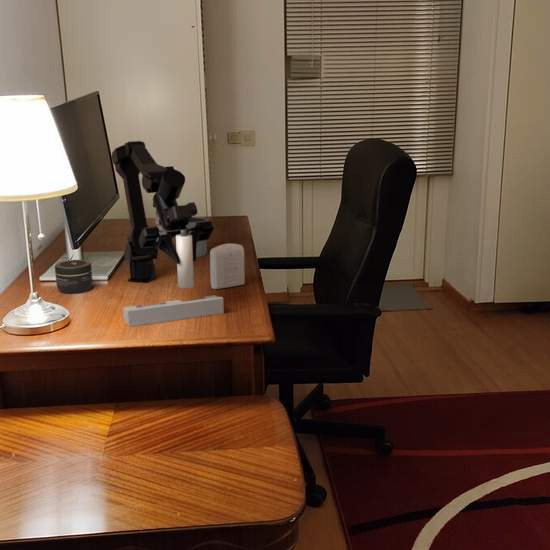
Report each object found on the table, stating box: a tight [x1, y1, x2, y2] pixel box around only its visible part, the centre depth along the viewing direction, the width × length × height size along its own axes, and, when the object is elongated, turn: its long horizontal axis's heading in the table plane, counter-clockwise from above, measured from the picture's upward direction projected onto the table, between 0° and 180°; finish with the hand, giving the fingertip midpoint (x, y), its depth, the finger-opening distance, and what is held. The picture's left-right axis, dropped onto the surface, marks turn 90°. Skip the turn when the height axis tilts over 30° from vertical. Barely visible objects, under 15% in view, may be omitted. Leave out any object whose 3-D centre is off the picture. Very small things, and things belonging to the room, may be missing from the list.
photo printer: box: [209, 243, 246, 290], centre depth 195 cm, size 10×4×12 cm, turn 123°
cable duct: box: [122, 294, 225, 328], centre depth 172 cm, size 24×6×4 cm, turn 113°
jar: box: [54, 259, 93, 295], centre depth 194 cm, size 10×10×8 cm
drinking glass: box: [186, 216, 209, 258], centre depth 232 cm, size 10×10×12 cm
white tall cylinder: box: [175, 229, 195, 289], centre depth 171 cm, size 4×4×14 cm
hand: (187, 262), depth 170 cm, fingers closed on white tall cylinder, 4 cm apart
